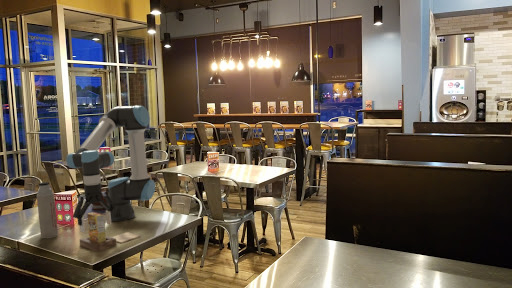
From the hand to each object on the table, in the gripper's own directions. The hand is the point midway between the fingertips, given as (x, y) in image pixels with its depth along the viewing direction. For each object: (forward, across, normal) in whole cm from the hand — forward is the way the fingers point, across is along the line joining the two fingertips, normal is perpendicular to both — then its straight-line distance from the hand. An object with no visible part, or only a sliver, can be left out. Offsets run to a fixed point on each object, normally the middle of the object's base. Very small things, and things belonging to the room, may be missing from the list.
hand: (96, 228), depth 199 cm
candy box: (+9, 0, 0) cm, 9 cm away
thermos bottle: (+9, +6, -36) cm, 38 cm away
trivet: (+8, -13, +2) cm, 16 cm away
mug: (+8, -40, -63) cm, 75 cm away
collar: (+8, 0, 0) cm, 9 cm away
